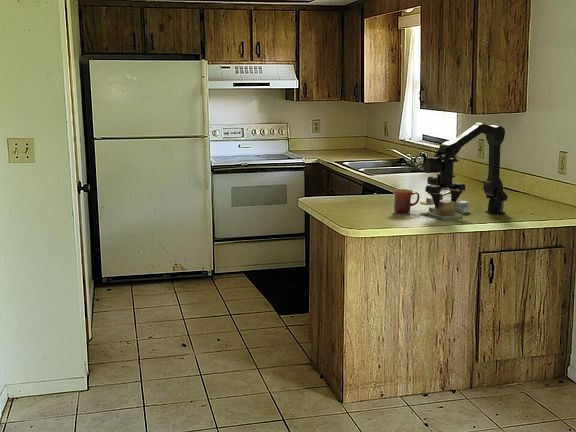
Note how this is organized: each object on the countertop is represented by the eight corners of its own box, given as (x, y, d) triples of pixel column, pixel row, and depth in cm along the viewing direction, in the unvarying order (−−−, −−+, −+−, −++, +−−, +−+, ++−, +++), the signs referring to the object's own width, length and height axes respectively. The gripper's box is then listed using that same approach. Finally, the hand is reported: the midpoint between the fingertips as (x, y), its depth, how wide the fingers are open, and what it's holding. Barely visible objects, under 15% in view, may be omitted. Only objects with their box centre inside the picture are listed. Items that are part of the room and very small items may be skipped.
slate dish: (444, 213, 319) (445, 210, 319) (462, 217, 310) (462, 214, 309) (426, 215, 314) (426, 212, 313) (443, 220, 304) (443, 217, 304)
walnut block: (454, 215, 310) (454, 201, 309) (443, 216, 307) (444, 202, 306) (444, 212, 315) (445, 199, 314) (434, 213, 312) (435, 200, 311)
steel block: (459, 210, 325) (459, 200, 324) (468, 212, 322) (469, 201, 321) (453, 212, 322) (454, 201, 321) (463, 213, 318) (463, 203, 317)
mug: (394, 214, 314) (395, 192, 312) (390, 210, 323) (391, 188, 321) (420, 214, 315) (421, 192, 313) (416, 211, 323) (417, 189, 321)
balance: (453, 207, 332) (454, 188, 330) (462, 209, 327) (464, 190, 325) (416, 211, 321) (417, 191, 319) (425, 214, 316) (426, 194, 314)
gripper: (449, 168, 319) (447, 202, 322) (417, 171, 310) (416, 205, 313) (467, 171, 309) (465, 206, 313) (435, 174, 300) (433, 210, 303)
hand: (444, 207), depth 311 cm, fingers open, 9 cm apart
